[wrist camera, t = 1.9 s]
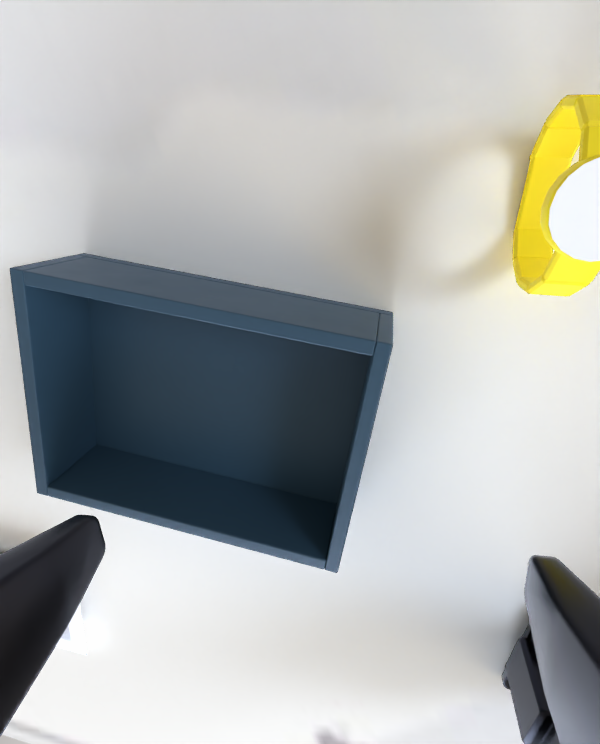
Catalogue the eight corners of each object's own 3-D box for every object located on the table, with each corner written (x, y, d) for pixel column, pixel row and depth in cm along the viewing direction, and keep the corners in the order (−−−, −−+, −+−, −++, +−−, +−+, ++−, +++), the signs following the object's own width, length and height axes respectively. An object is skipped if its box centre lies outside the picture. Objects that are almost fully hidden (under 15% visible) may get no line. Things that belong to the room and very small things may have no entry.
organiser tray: (393, 311, 20) (393, 344, 16) (346, 507, 24) (337, 573, 20) (83, 252, 22) (8, 267, 17) (93, 444, 26) (36, 493, 22)
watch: (518, 109, 16) (581, 68, 11) (601, 109, 16) (711, 67, 10) (486, 275, 18) (524, 310, 13) (558, 279, 18) (628, 318, 13)
